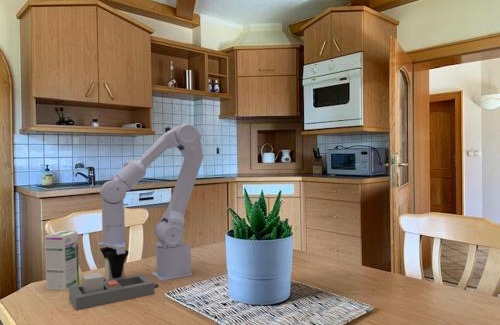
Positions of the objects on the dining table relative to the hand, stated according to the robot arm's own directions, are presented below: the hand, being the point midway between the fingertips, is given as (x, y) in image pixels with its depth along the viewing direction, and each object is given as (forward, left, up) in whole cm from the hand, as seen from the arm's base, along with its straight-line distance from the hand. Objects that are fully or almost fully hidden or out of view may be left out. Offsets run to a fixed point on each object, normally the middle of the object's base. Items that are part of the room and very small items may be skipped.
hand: (114, 275), depth 105 cm
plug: (0, 0, -1) cm, 1 cm away
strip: (+2, +10, -2) cm, 10 cm away
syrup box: (+12, -5, -3) cm, 13 cm away
